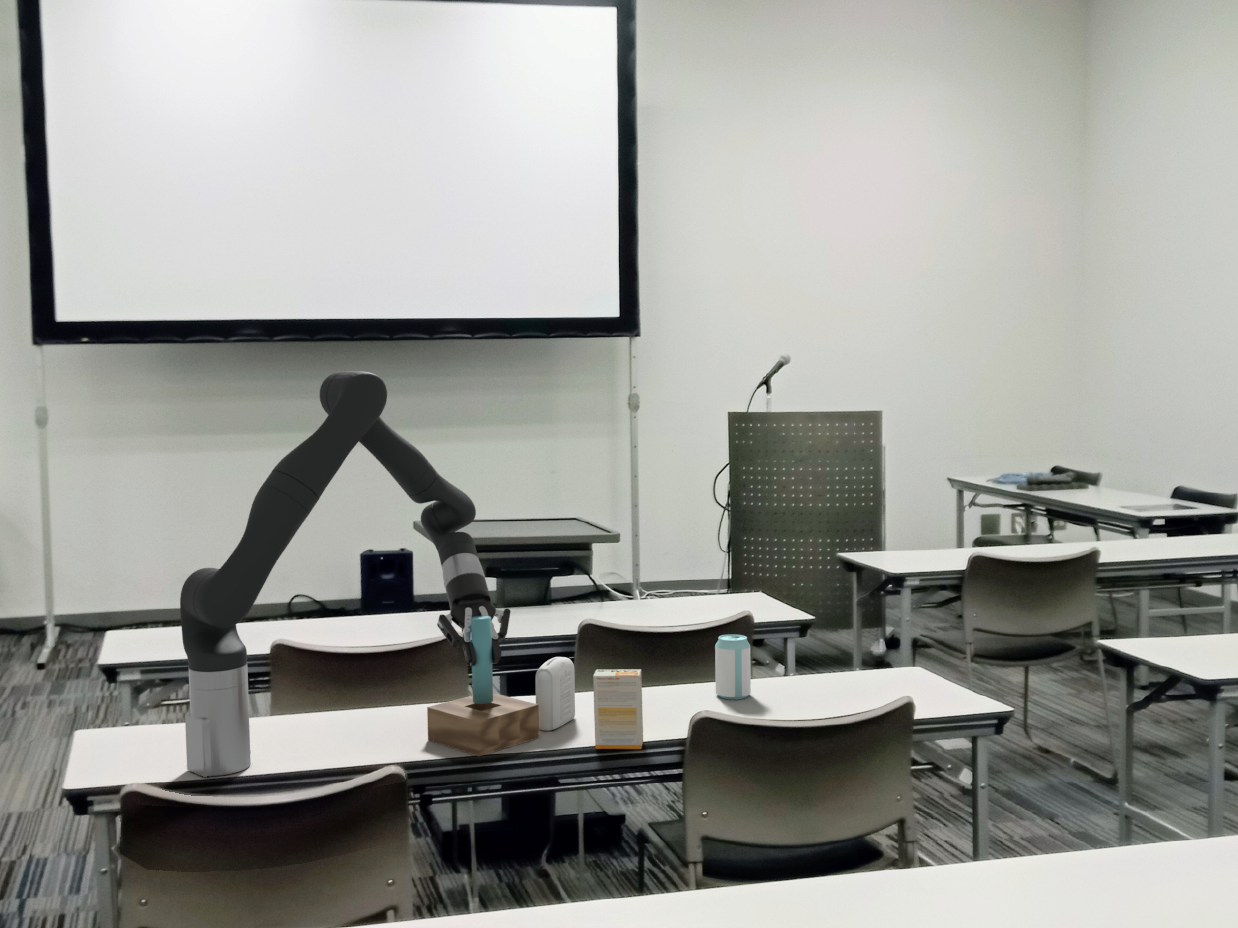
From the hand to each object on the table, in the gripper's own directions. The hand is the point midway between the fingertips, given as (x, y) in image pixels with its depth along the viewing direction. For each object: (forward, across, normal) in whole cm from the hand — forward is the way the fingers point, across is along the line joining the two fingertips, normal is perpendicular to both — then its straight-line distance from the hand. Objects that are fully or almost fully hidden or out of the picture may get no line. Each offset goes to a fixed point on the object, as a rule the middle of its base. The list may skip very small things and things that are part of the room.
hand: (485, 661), depth 203 cm
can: (+4, +54, +16) cm, 57 cm away
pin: (+4, 0, +7) cm, 8 cm away
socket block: (+9, 0, +12) cm, 14 cm away
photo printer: (+7, +15, +14) cm, 22 cm away
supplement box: (+19, +20, +2) cm, 28 cm away
